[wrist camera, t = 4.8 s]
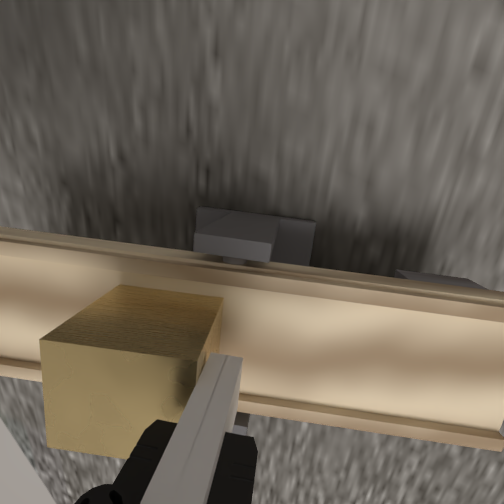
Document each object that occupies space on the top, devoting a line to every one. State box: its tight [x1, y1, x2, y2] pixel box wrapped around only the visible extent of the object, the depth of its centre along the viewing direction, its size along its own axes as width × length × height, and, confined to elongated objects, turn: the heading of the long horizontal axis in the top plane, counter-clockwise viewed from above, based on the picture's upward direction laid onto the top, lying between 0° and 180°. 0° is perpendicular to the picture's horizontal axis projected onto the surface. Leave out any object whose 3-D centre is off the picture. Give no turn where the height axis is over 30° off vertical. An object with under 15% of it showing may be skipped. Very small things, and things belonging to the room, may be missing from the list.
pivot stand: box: [193, 206, 316, 436], centre depth 22 cm, size 12×10×12 cm
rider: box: [39, 284, 224, 459], centre depth 15 cm, size 5×6×6 cm
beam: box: [0, 226, 504, 452], centre depth 19 cm, size 10×33×8 cm, turn 83°
